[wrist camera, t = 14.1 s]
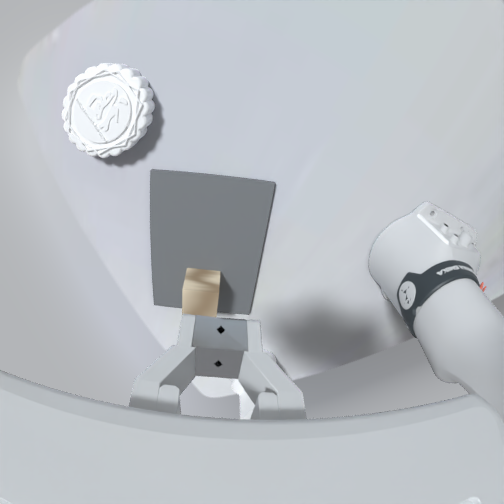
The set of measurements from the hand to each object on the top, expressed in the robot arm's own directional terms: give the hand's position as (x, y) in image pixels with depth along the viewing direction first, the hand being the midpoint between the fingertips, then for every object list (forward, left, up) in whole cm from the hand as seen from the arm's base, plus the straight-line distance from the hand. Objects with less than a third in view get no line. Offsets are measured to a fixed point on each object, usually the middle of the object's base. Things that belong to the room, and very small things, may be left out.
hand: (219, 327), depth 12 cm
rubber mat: (+2, +15, -29) cm, 33 cm away
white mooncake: (+16, -4, -30) cm, 34 cm away
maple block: (+2, +21, -24) cm, 32 cm away
